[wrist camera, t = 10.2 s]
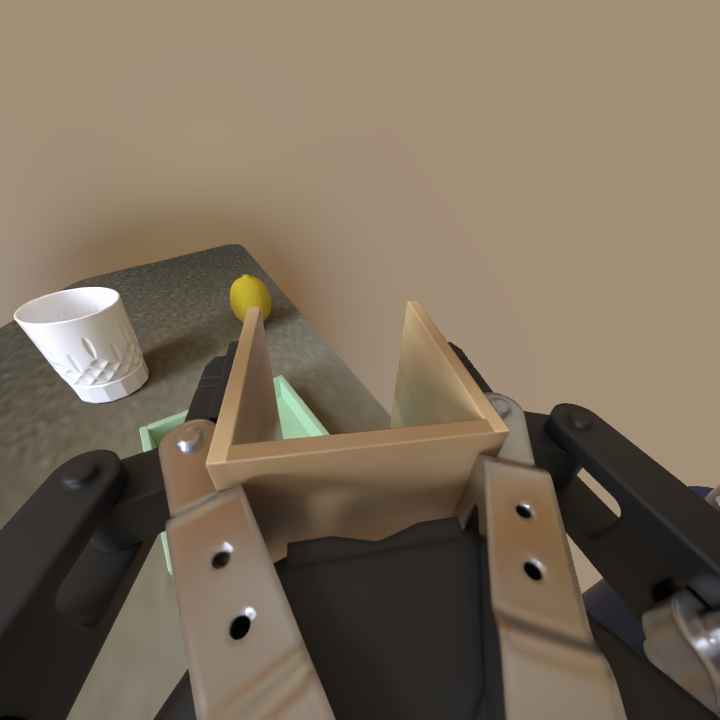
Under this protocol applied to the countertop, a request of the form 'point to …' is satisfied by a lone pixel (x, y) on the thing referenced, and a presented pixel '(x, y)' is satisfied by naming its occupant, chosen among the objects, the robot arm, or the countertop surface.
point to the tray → (292, 418)
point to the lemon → (249, 297)
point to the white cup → (87, 341)
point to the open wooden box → (354, 446)
